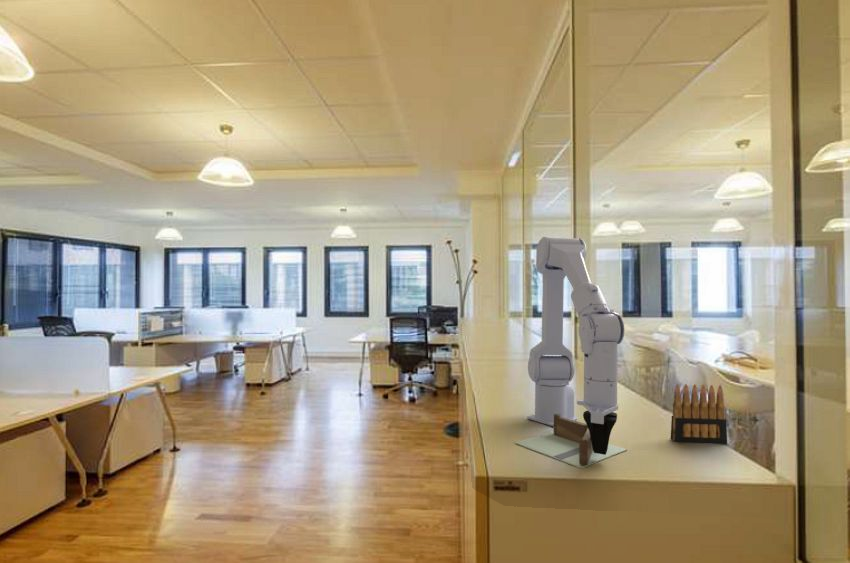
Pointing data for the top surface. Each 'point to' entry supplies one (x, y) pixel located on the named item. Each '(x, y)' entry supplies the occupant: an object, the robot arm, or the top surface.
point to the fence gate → (585, 448)
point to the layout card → (565, 449)
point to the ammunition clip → (699, 417)
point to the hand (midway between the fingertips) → (599, 453)
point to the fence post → (569, 428)
